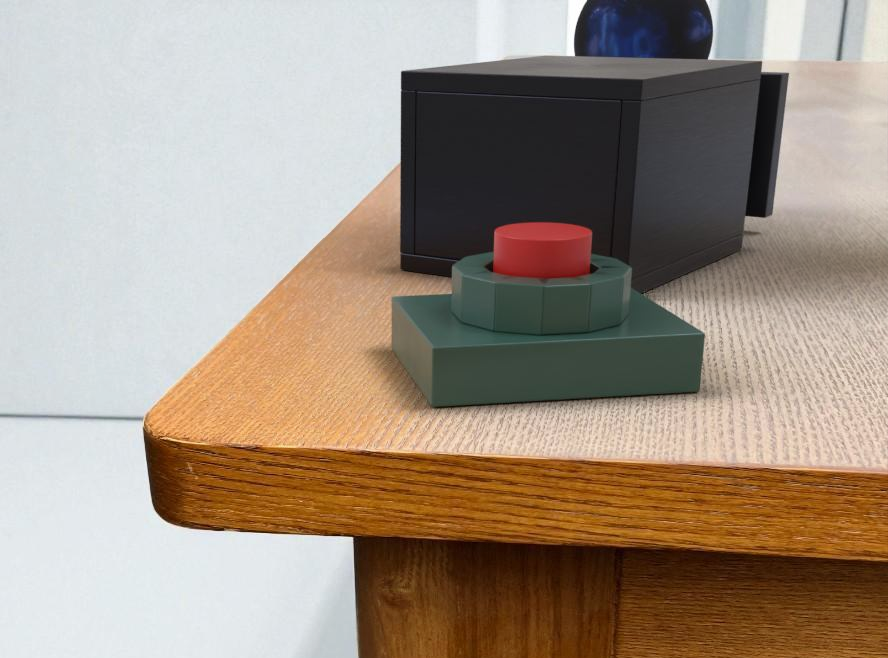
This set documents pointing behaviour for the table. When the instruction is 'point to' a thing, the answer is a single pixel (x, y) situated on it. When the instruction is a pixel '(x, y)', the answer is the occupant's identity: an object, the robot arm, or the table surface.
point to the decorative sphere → (644, 29)
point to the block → (542, 338)
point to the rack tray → (766, 144)
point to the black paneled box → (579, 158)
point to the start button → (542, 250)
